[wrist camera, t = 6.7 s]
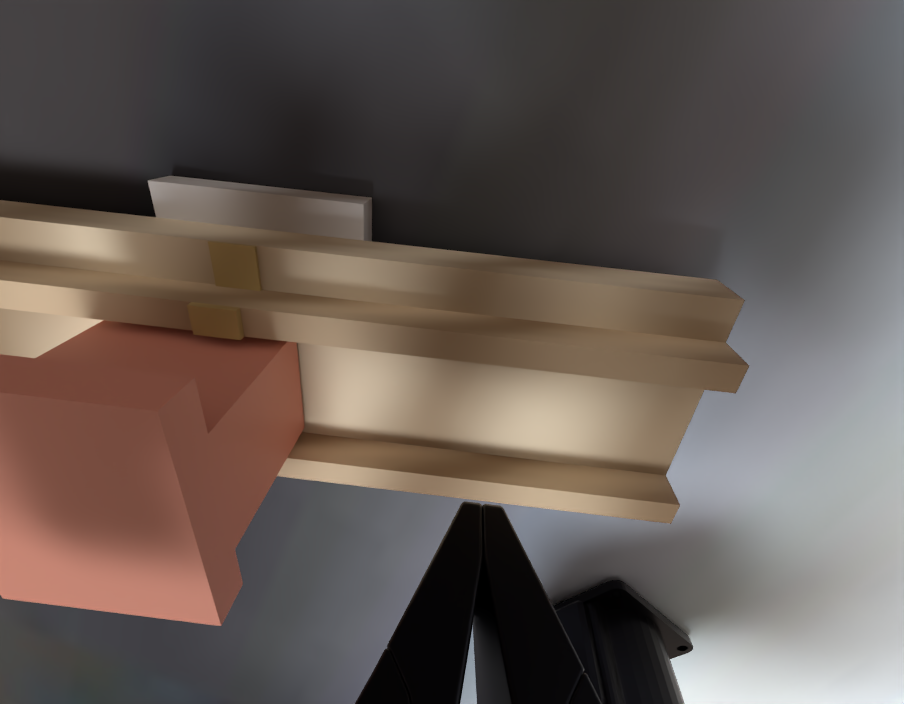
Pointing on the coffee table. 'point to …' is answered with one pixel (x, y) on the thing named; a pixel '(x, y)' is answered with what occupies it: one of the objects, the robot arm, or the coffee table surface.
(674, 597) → the coffee table surface
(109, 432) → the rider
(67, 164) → the coffee table surface
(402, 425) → the beam
